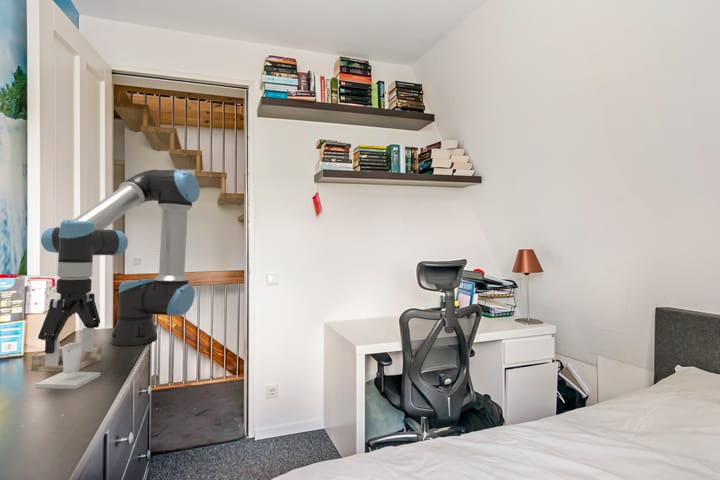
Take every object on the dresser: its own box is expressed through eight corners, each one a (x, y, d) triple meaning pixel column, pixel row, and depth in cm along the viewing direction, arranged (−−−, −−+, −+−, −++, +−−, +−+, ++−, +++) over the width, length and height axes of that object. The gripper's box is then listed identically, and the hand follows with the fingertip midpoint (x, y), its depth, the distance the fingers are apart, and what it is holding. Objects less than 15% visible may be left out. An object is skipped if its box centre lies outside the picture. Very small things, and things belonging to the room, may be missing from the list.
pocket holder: (61, 358, 124) (62, 345, 124) (100, 359, 125) (101, 346, 125) (31, 370, 112) (31, 356, 112) (74, 371, 113) (75, 357, 113)
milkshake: (54, 378, 104) (56, 340, 104) (79, 373, 108) (80, 337, 108) (58, 382, 101) (60, 343, 101) (83, 377, 105) (85, 340, 105)
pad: (63, 375, 110) (63, 371, 110) (100, 376, 110) (100, 372, 110) (35, 387, 100) (35, 384, 100) (75, 389, 100) (76, 385, 100)
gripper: (90, 274, 118) (86, 345, 117) (22, 281, 93) (17, 372, 92) (116, 275, 118) (112, 346, 118) (54, 283, 93) (50, 373, 93)
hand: (70, 358), depth 105 cm, fingers open, 13 cm apart
